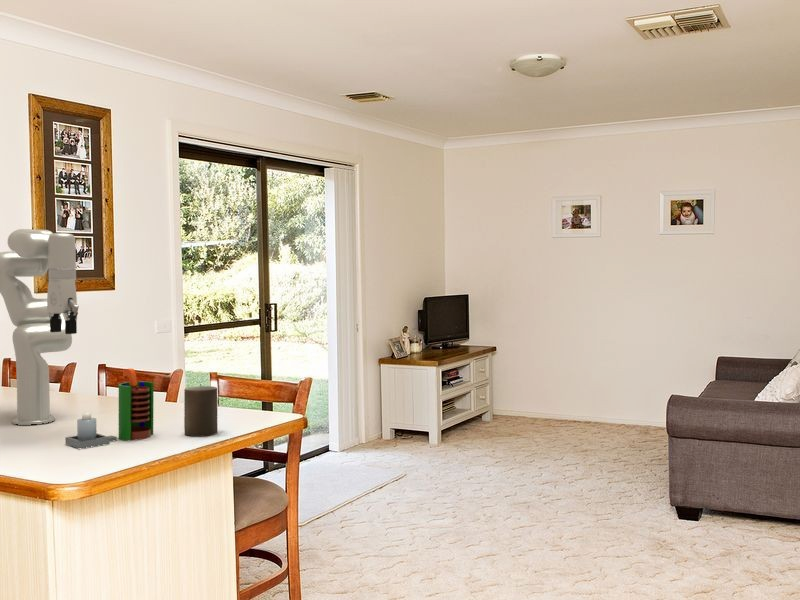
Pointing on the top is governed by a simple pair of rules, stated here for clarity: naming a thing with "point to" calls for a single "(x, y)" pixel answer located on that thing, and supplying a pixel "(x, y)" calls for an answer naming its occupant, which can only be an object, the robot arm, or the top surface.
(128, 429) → the motor
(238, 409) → the top surface
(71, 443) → the grey tray
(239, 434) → the top surface
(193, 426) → the pillar candle
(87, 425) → the pump
